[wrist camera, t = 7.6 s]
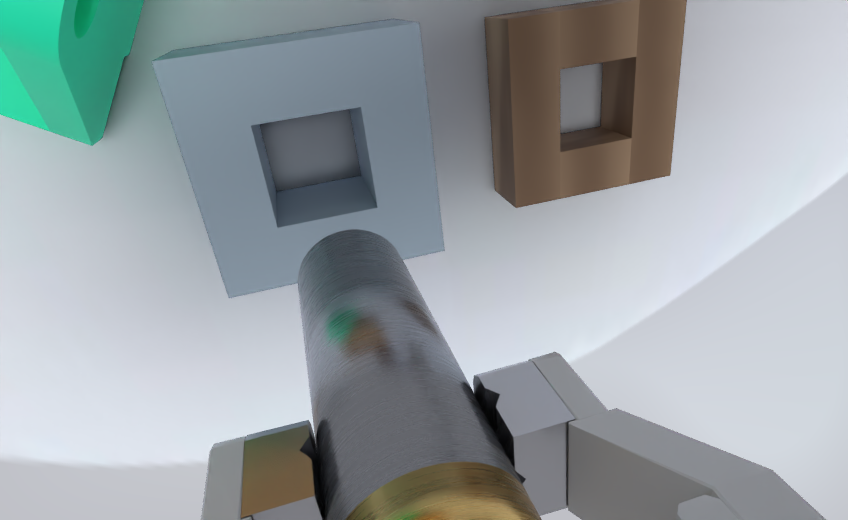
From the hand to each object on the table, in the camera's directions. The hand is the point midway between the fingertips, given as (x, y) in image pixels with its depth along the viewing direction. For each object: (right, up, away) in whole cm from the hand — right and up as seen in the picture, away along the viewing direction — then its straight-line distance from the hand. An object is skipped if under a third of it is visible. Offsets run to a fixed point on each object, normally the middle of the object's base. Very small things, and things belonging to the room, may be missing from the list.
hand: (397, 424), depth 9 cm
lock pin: (-1, +2, +5) cm, 6 cm away
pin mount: (+8, +12, +20) cm, 25 cm away
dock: (-5, +9, +18) cm, 21 cm away
